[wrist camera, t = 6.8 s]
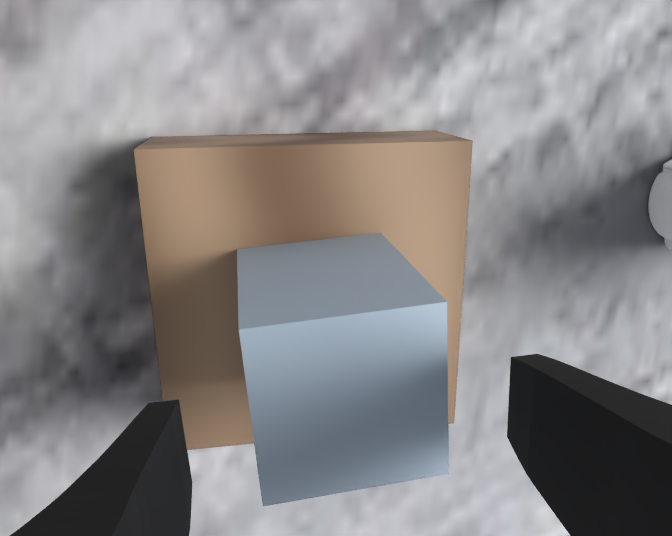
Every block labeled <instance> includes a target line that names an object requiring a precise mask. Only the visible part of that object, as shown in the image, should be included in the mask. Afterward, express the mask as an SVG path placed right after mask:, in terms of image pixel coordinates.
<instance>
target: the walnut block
mask: <svg viewBox="0 0 672 536" xmlns="http://www.w3.org/2000/svg"><path fill="white" fill-rule="evenodd" d="M472 142H473V141H472V140H468V139H464V138H461V137H457V136H453V135H449V134H446V133H442V132H438V131H396V132H351V133H306V134H261V135H216V136H171V137H151V138H149V139H148V140H146V141H145V142H144V143H142V144H141V145H139V146H138V147H136V148H135V149H134V157H135V166H136V174H137V183H138V192H139V200H140V209H141V218H142V226H143V235H144V244H145V252H146V261H147V270H148V278H149V287H150V296H151V304H152V313H153V322H154V330H155V339H156V348H157V356H158V365H159V374H160V382H161V391H162V400H163V401H170V400H178V399H179V403H180V409H181V416H182V422H183V428H184V435H185V441H186V447H187V450H192V449H202V448H212V447H221V446H231V445H241V444H251V443H254V438H253V430H252V423H251V416H250V409H249V401H248V394H247V387H246V379H245V372H244V365H243V358H242V350H241V343H240V336H239V323H238V276H237V249H244V248H253V247H262V246H270V245H279V244H288V243H296V242H305V241H314V240H322V239H331V238H340V237H348V236H357V235H366V234H375V233H382V234H383V235H384V236H385V237H386V238H387V240H388V241H389V242H390V243H391V244H392V245H393V246H394V247H395V248H396V249H397V250H398V251H399V252H400V253H401V254H402V255H403V256H404V257H405V258H406V259H407V260H408V261H409V263H410V264H411V265H412V266H413V267H414V268H415V269H416V270H417V271H418V272H419V273H420V274H421V275H422V276H423V277H424V278H425V279H426V280H427V281H428V282H429V283H430V284H431V286H432V287H433V288H434V289H435V290H436V291H437V292H438V293H439V294H440V295H441V296H442V297H443V298H444V299H445V300H446V301H447V345H448V424H451V423H454V418H455V402H456V387H457V372H458V356H459V341H460V326H461V311H462V295H463V280H464V265H465V249H466V234H467V219H468V203H469V188H470V173H471V158H472Z"/></svg>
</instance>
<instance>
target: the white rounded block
mask: <svg viewBox="0 0 672 536" xmlns="http://www.w3.org/2000/svg"><path fill="white" fill-rule="evenodd" d="M648 208H649V216H650V221H651V223H652V225H653V227H654V229H655V230H656V231H657V232H658V234H659V235H661V236H663V237H664V238H665V245H666V246H667V247H668V248H670V249H672V159H671V160H669V161H668V162H666V163H665V164H663V172H661V173H660V174H658V175H657V177H656V178H655V180H654V183H653V185H652V188H651V191H650V196H649V205H648Z"/></svg>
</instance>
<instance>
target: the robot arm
mask: <svg viewBox="0 0 672 536" xmlns="http://www.w3.org/2000/svg"><path fill="white" fill-rule="evenodd" d="M507 437H508V439H509V441H510V443H511V445H512V447H513V449H514V451H515V453H516V455H517V457H518V459H519V461H520V463H521V464H522V466H523V468H524V470H525V472H526V474H527V475H528V477H529V478H530V480H531V481H532V483H533V484H534V485H535V487H536V488H537V490H538V491H539V493H540V494H541V495H542V497H543V498H544V500H545V501H546V502H547V504H548V505H549V507H550V508H551V509H552V511H553V512H554V513H555V515H556V516H557V518H558V519H559V520H560V522H561V523H562V524H563V526H564V527H565V529H566V530H567V531H568V533H569V534H570V535H571V536H672V405H670V404H668V403H665V402H662V401H659V400H656V399H654V398H651V397H648V396H645V395H642V394H640V393H637V392H635V391H632V390H629V389H627V388H624V387H622V386H619V385H617V384H614V383H612V382H609V381H607V380H604V379H602V378H599V377H597V376H595V375H592V374H590V373H587V372H585V371H582V370H580V369H578V368H575V367H573V366H570V365H568V364H565V363H563V362H560V361H557V360H555V359H552V358H549V357H546V356H542V355H539V354H533V355H525V356H517V357H511V367H510V388H509V410H508V431H507ZM191 498H192V479H191V472H190V466H189V460H188V453H187V447H186V441H185V435H184V428H183V422H182V416H181V409H180V403H179V399H178V400H170V401H162V402H154V403H148V404H147V405H146V406H145V408H144V409H143V410H142V411H141V412H140V413H139V414H138V415H137V416H136V418H135V419H134V420H133V421H132V422H131V423H130V424H129V426H128V427H127V428H126V429H125V430H124V431H123V432H122V433H121V435H120V436H119V437H118V438H117V439H116V440H115V441H114V442H113V443H112V445H111V446H110V447H109V448H108V449H107V450H106V451H105V452H104V453H103V454H102V455H101V456H100V458H99V459H98V460H97V461H96V462H94V463H93V464H92V465H91V466H90V467H89V468H88V469H87V470H86V471H85V472H84V473H83V474H82V475H81V476H80V477H79V478H78V479H77V480H76V481H75V482H74V483H73V484H72V485H71V486H70V487H69V488H68V489H67V490H66V491H65V492H63V493H62V494H61V495H60V496H59V497H58V498H57V499H55V500H54V501H53V502H52V503H51V504H50V505H48V506H47V507H46V508H45V509H44V510H42V511H41V512H40V513H39V514H37V515H36V516H35V517H34V518H32V519H31V520H30V521H29V522H27V523H26V524H25V525H24V526H22V527H21V528H20V529H18V530H17V531H16V532H14V533H13V534H12V535H10V536H189V531H190V519H191Z"/></svg>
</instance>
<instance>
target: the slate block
mask: <svg viewBox="0 0 672 536" xmlns="http://www.w3.org/2000/svg"><path fill="white" fill-rule="evenodd" d="M237 276H238V323H239V336H240V343H241V350H242V358H243V365H244V372H245V379H246V387H247V394H248V401H249V409H250V416H251V423H252V430H253V438H254V445H255V452H256V459H257V467H258V474H259V481H260V488H261V496H262V503H263V506H268V505H273V504H279V503H285V502H290V501H296V500H302V499H307V498H313V497H319V496H325V495H330V494H336V493H342V492H347V491H353V490H359V489H364V488H370V487H376V486H382V485H387V484H393V483H399V482H404V481H410V480H416V479H421V478H427V477H433V476H438V475H444V474H449V443H448V345H447V301H446V300H445V299H444V298H443V297H442V296H441V295H440V294H439V293H438V292H437V291H436V290H435V289H434V288H433V287H432V286H431V284H430V283H429V282H428V281H427V280H426V279H425V278H424V277H423V276H422V275H421V274H420V273H419V272H418V271H417V270H416V269H415V268H414V267H413V266H412V265H411V264H410V263H409V261H408V260H407V259H406V258H405V257H404V256H403V255H402V254H401V253H400V252H399V251H398V250H397V249H396V248H395V247H394V246H393V245H392V244H391V243H390V242H389V241H388V240H387V238H386V237H385V236H384V235H383V234H382V233H375V234H366V235H357V236H348V237H340V238H331V239H322V240H314V241H305V242H296V243H288V244H279V245H270V246H262V247H253V248H244V249H237Z"/></svg>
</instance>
